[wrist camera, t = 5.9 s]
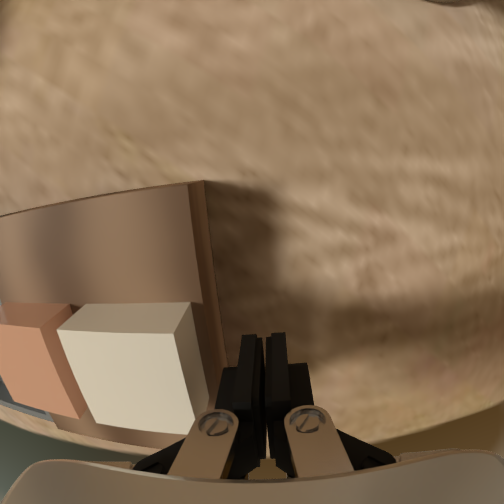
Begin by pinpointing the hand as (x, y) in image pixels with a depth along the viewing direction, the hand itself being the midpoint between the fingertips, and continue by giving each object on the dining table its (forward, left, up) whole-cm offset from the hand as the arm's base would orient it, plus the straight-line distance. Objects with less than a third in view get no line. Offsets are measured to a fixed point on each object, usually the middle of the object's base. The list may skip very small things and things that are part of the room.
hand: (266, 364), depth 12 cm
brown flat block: (+8, 0, -4) cm, 9 cm away
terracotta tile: (+11, 0, -1) cm, 11 cm away
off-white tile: (+5, 0, -1) cm, 5 cm away
